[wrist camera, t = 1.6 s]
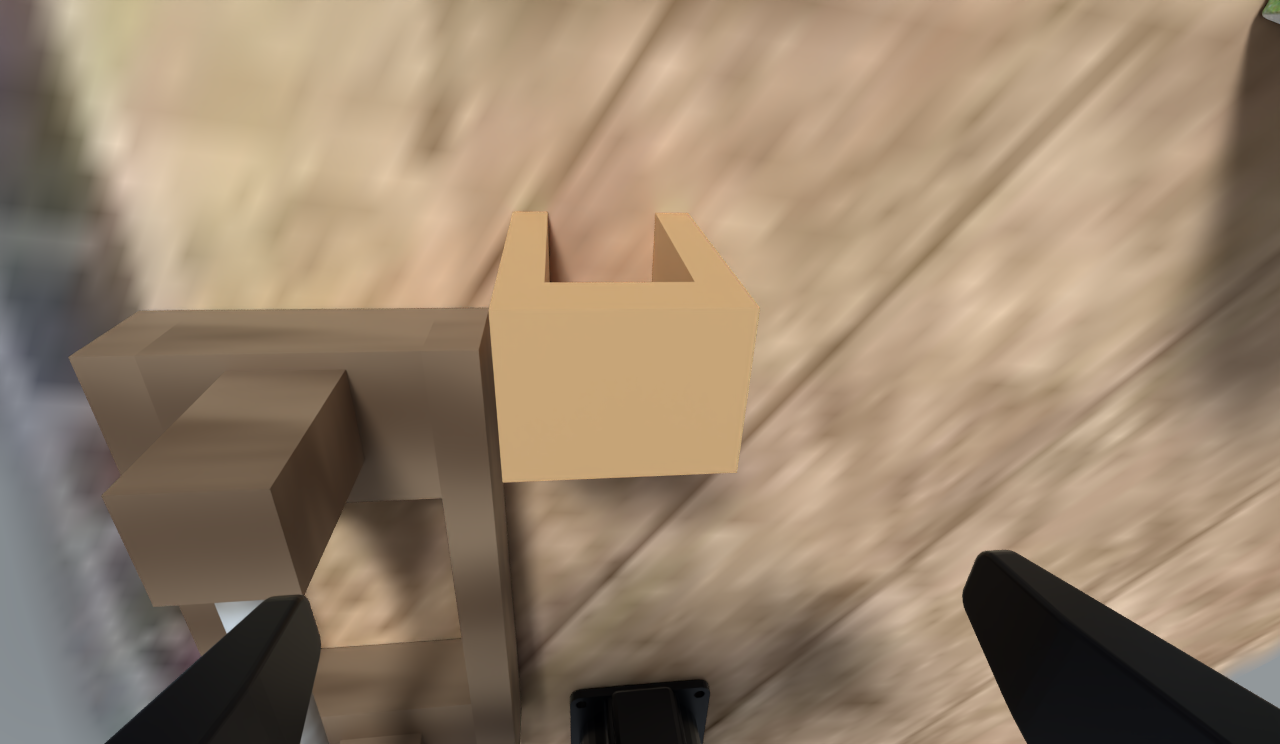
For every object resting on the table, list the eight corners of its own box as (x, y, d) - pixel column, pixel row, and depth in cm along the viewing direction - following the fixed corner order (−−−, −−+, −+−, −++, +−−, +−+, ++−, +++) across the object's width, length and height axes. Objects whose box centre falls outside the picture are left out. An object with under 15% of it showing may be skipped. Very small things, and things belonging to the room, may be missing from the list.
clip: (678, 334, 21) (736, 472, 14) (520, 336, 20) (502, 482, 13) (688, 213, 19) (759, 308, 12) (513, 211, 18) (488, 310, 11)
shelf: (521, 707, 29) (510, 923, 22) (293, 728, 27) (203, 963, 20) (489, 307, 19) (451, 460, 12) (139, 310, 18) (-124, 482, 11)
